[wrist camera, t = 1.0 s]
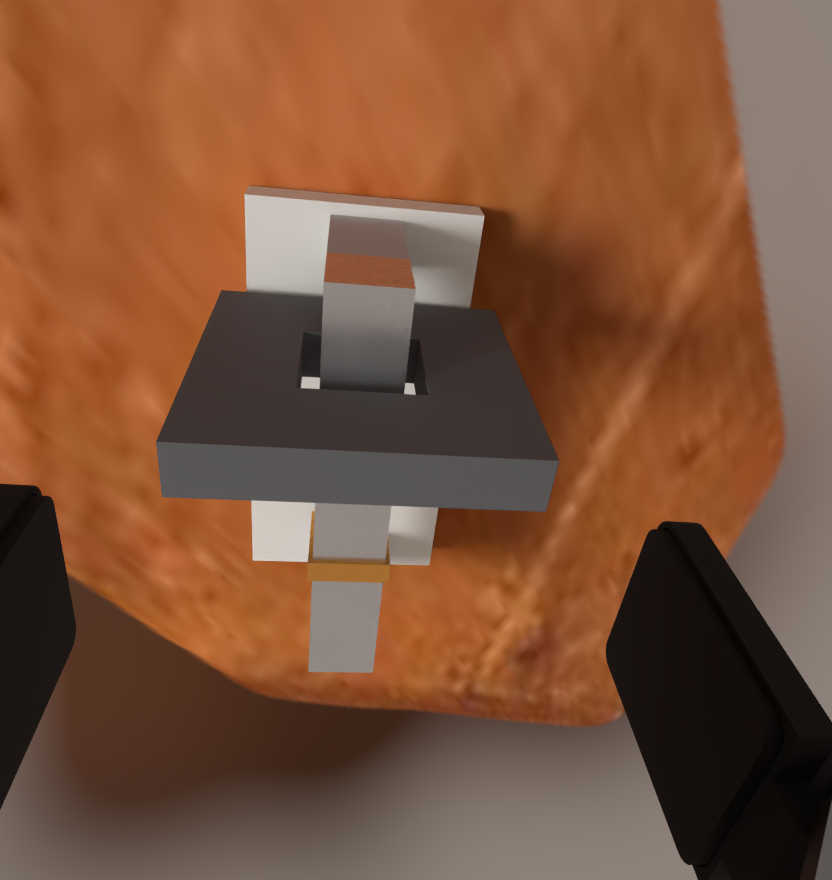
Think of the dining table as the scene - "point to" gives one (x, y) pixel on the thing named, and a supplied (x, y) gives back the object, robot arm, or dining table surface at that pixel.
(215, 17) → the dining table surface
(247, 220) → the stand
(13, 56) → the dining table surface
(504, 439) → the collar
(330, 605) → the grey square bar
